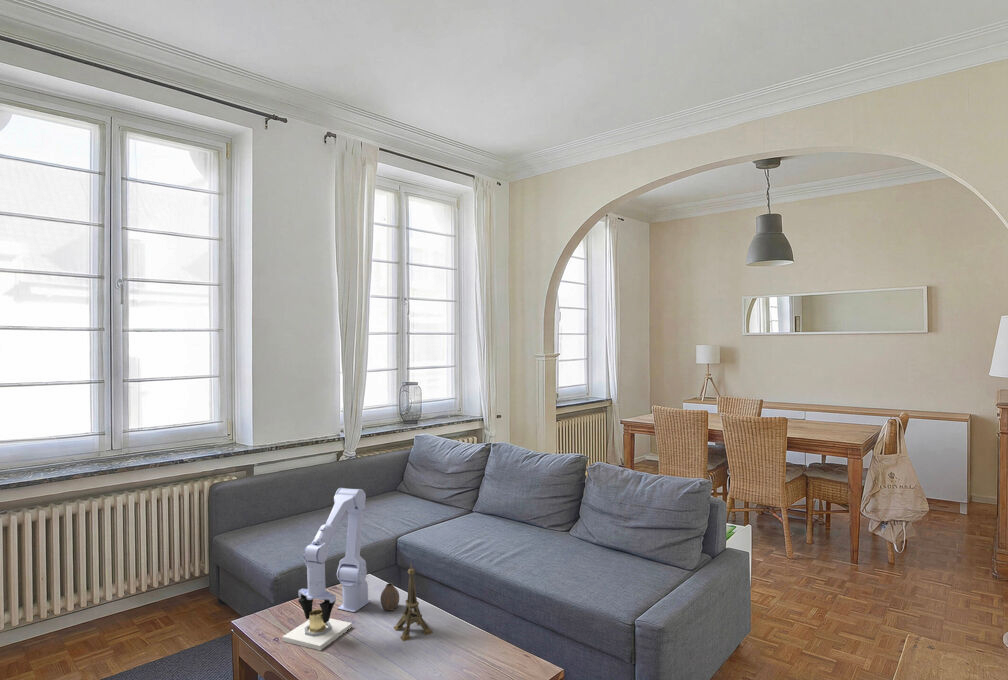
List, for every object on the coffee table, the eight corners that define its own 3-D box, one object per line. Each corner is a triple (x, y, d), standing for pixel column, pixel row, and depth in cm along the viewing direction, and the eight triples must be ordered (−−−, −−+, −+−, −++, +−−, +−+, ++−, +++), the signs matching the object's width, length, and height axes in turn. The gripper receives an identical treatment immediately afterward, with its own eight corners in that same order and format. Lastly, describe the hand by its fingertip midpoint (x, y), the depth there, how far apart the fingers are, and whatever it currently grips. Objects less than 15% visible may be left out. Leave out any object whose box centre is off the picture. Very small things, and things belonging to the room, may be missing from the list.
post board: (316, 619, 211) (315, 602, 211) (352, 627, 205) (351, 610, 205) (282, 641, 197) (281, 623, 197) (320, 650, 190) (319, 631, 190)
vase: (383, 614, 214) (383, 590, 214) (378, 606, 220) (377, 583, 220) (402, 609, 217) (401, 585, 217) (396, 602, 223) (395, 579, 223)
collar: (317, 625, 204) (316, 607, 204) (328, 627, 202) (328, 610, 202) (306, 631, 199) (306, 614, 199) (318, 634, 197) (317, 616, 197)
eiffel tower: (393, 627, 204) (391, 555, 204) (422, 620, 209) (420, 549, 209) (402, 641, 195) (400, 566, 194) (432, 633, 200) (430, 559, 199)
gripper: (291, 581, 200) (292, 621, 200) (325, 587, 194) (326, 629, 194) (306, 573, 206) (307, 612, 206) (339, 579, 200) (340, 619, 201)
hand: (317, 619), depth 201 cm, fingers open, 7 cm apart
